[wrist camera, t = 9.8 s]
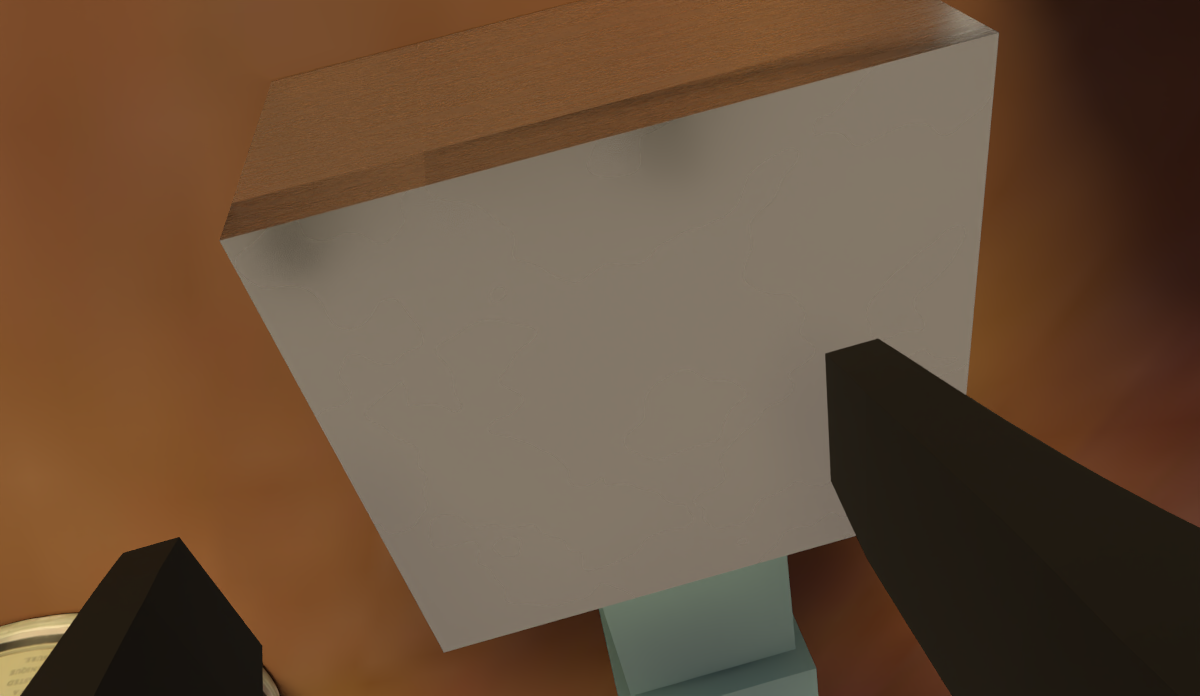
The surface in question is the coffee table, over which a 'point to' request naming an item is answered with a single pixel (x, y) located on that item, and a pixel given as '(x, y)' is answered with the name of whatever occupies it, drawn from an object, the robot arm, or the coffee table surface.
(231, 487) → the coffee table surface
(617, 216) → the housing
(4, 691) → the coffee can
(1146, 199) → the coffee table surface
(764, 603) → the end cover
